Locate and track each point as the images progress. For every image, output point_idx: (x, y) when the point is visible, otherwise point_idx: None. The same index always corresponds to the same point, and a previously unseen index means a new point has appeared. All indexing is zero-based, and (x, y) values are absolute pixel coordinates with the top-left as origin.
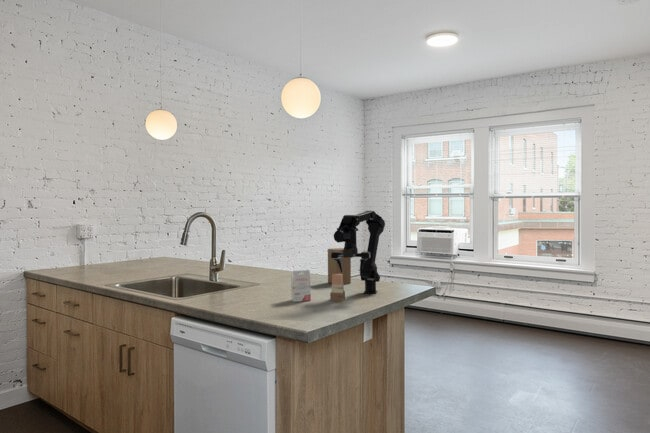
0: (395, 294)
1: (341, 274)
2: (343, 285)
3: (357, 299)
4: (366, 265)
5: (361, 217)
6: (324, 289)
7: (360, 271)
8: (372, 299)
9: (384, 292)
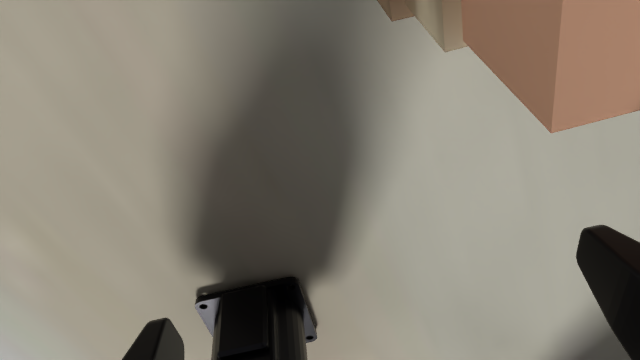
0: (49, 337)
1: (577, 6)
2: (430, 1)
3: (224, 29)
4: None
5: None
6: None
7: (142, 344)
8: (76, 99)
9: None
